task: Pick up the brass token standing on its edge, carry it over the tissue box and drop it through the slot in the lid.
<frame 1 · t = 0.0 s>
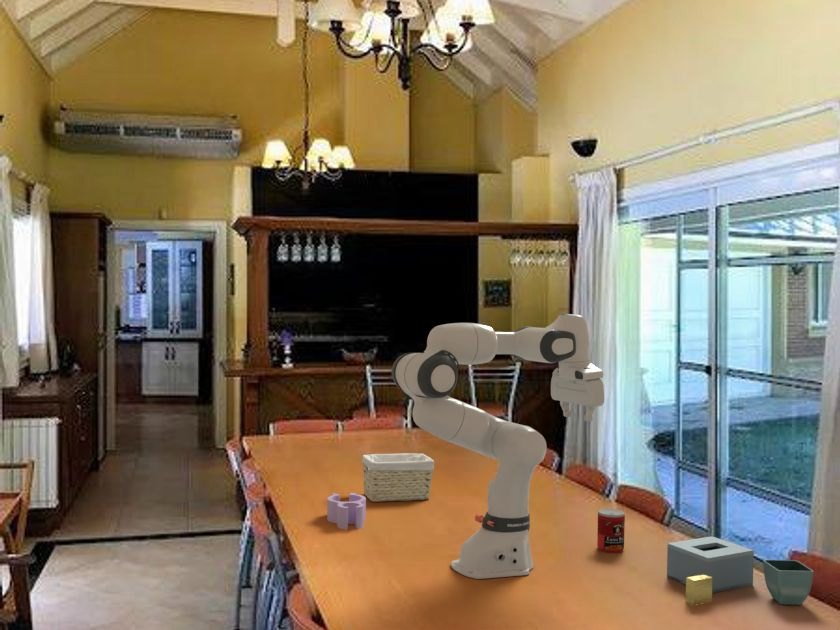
hand: (577, 418, 240), 39 cm above the table, tool pointing down, fingers open, 8 cm apart
flower pot: (787, 602, 206), on the table
clip: (347, 522, 274), on the table
canned food: (610, 549, 247), on the table
tissue box: (709, 581, 220), on the table
token: (698, 602, 205), on the table
storage basket: (397, 497, 307), on the table
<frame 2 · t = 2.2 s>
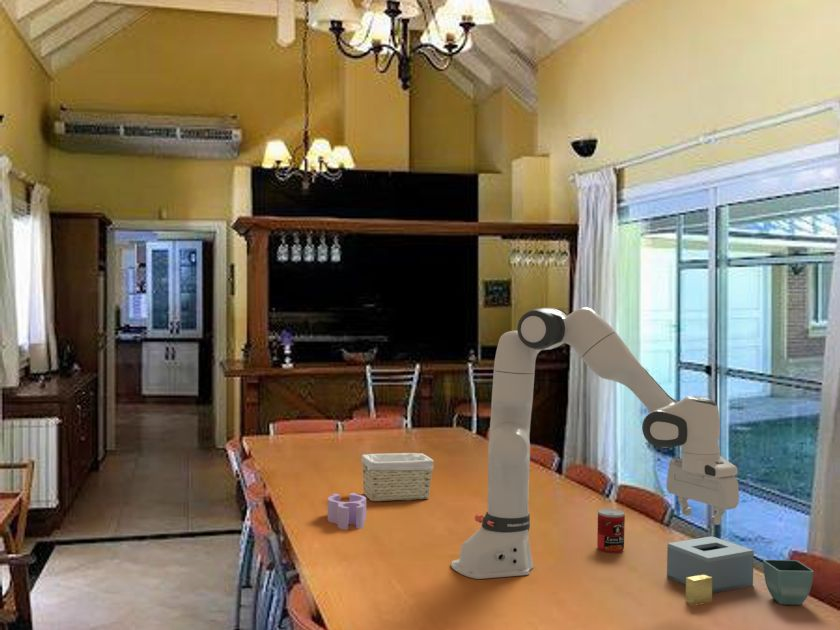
hand: (700, 519, 207), 19 cm above the table, tool pointing down, fingers open, 8 cm apart
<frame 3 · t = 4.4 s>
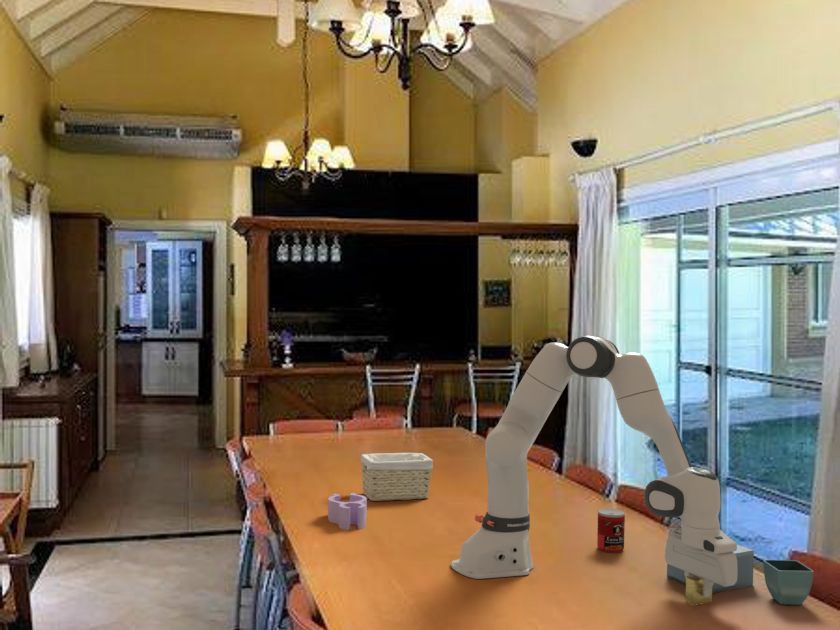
hand: (698, 593, 205), 2 cm above the table, tool pointing down, fingers closed on token, 3 cm apart
token: (698, 602, 205), on the table, touching gripper
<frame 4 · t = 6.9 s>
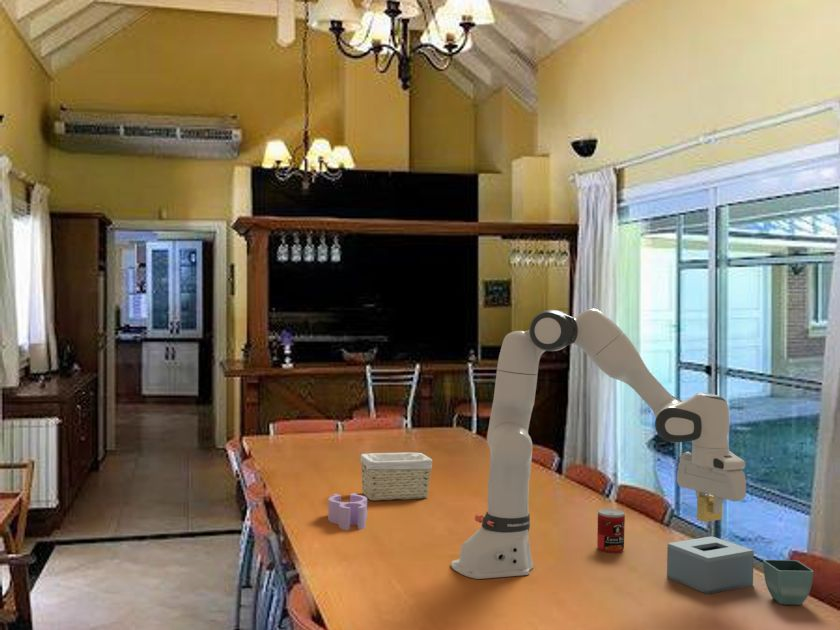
hand: (709, 511, 216), 19 cm above the table, tool pointing down, fingers closed on token, 2 cm apart
token: (709, 519, 216), point 17 cm above the table, touching gripper
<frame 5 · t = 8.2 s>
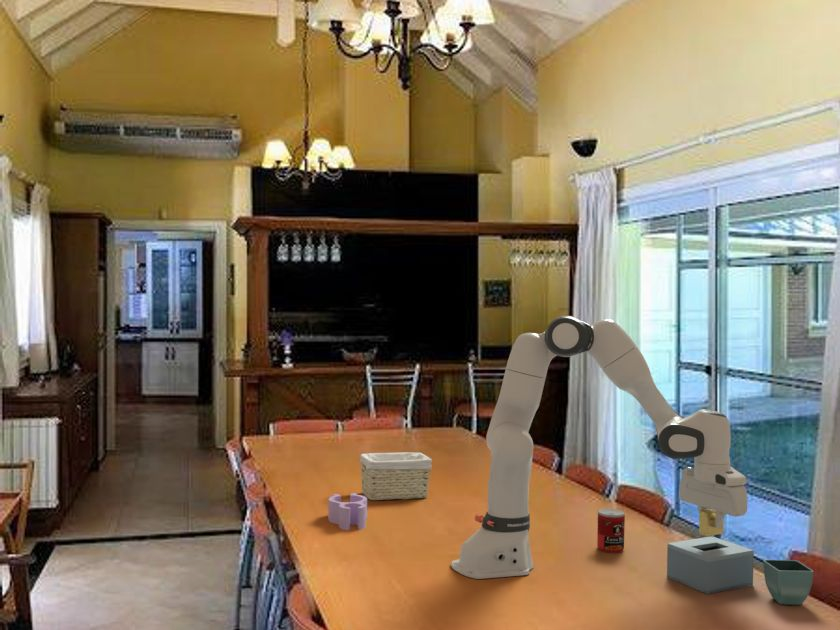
hand: (711, 525, 220), 15 cm above the table, tool pointing down, fingers closed on token, 2 cm apart
token: (711, 533, 220), point 12 cm above the table, touching gripper
when the fingers open (11 cm above the table, at t = 9.1 s): token drops 8 cm, resting on tissue box.
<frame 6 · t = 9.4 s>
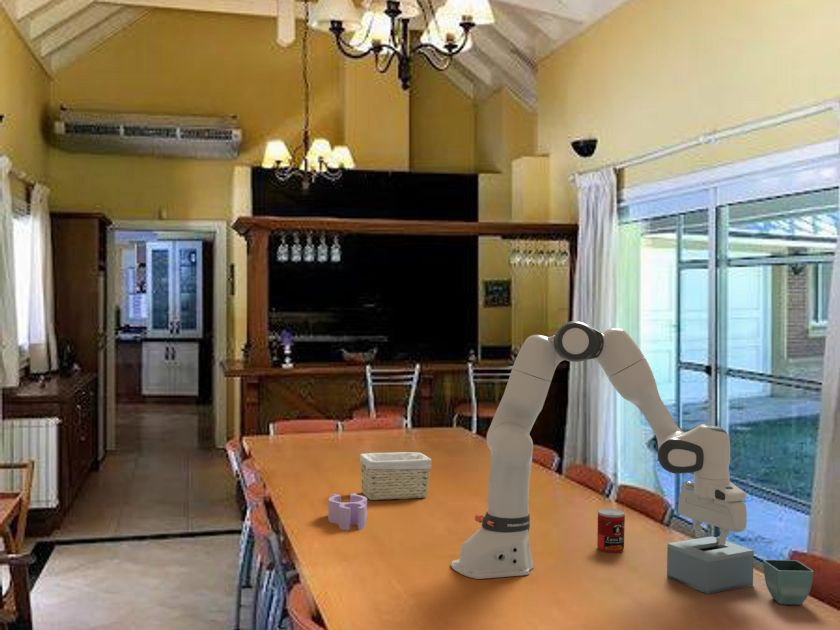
hand: (710, 540, 220), 11 cm above the table, tool pointing down, fingers open, 6 cm apart
token: (709, 578, 220), point 1 cm above the table, touching tissue box
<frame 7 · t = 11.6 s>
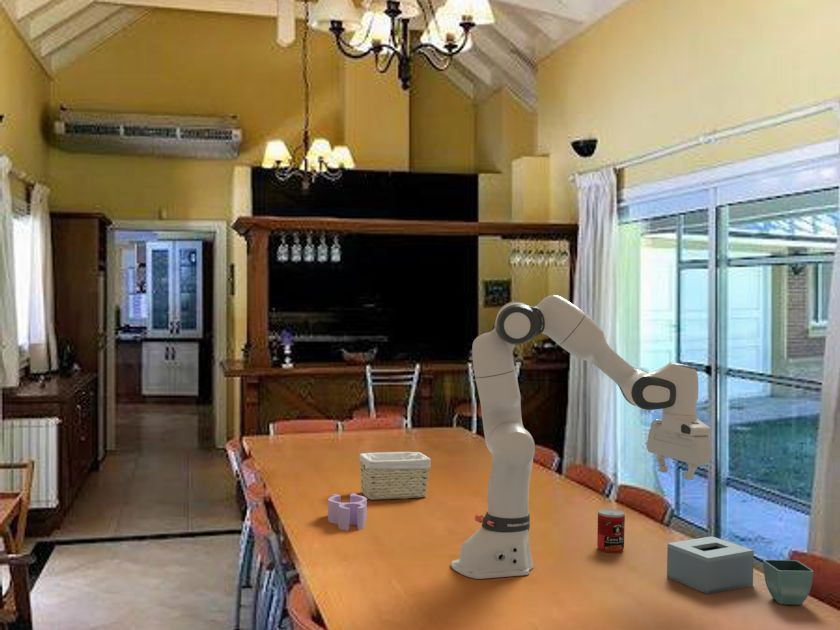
hand: (675, 475, 226), 26 cm above the table, tool pointing down, fingers open, 8 cm apart
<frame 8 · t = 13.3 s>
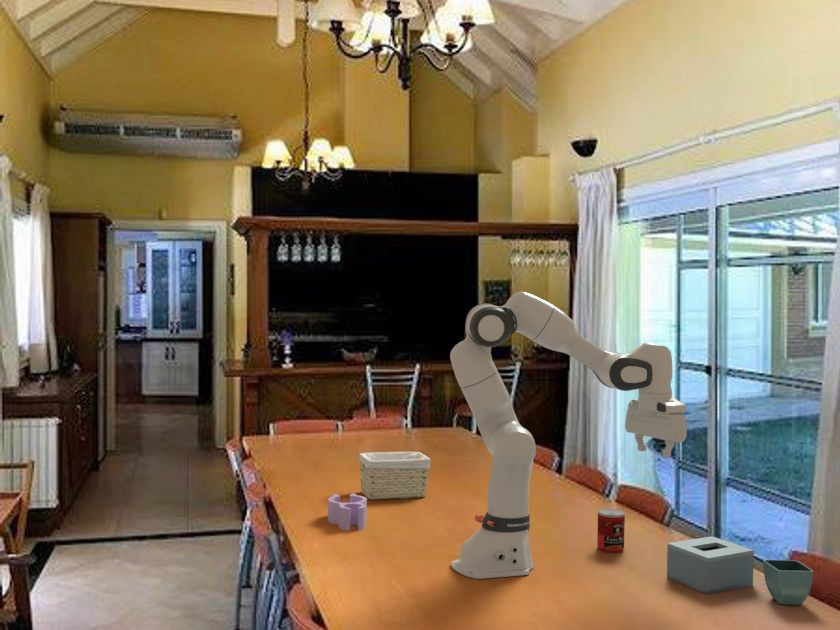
hand: (653, 453, 230), 31 cm above the table, tool pointing down, fingers open, 8 cm apart
at the end: token inside the target area on the tissue box (0.0 cm from its centre), point 0.8 cm above the tissue box's base; the gripper is holding nothing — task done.
